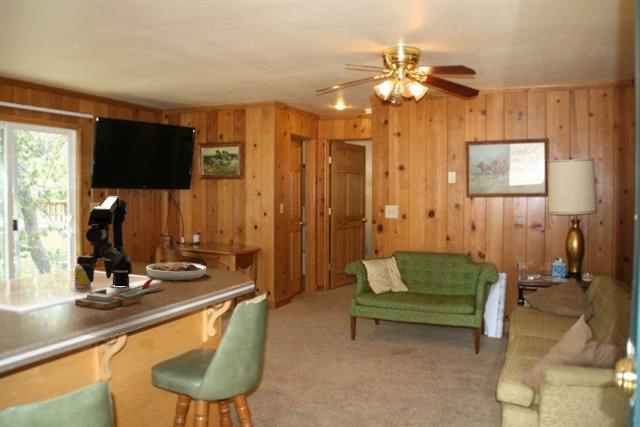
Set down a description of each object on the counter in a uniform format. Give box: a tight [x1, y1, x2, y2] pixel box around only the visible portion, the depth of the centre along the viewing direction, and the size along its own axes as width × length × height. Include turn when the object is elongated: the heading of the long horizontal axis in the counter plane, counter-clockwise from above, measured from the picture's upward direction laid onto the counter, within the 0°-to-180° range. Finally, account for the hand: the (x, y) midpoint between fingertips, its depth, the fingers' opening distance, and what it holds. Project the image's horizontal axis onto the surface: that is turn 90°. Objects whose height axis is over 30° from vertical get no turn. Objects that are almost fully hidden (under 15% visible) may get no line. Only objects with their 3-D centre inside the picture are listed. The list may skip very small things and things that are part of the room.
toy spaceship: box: [117, 278, 166, 298], centre depth 224 cm, size 27×11×5 cm, turn 171°
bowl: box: [146, 261, 207, 281], centre depth 270 cm, size 30×30×8 cm
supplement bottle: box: [74, 263, 92, 289], centre depth 232 cm, size 7×7×13 cm
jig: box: [74, 288, 141, 310], centre depth 205 cm, size 18×17×3 cm
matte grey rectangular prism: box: [86, 293, 114, 303], centre depth 201 cm, size 4×9×4 cm, turn 73°
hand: (100, 280), depth 201 cm, fingers open, 9 cm apart
